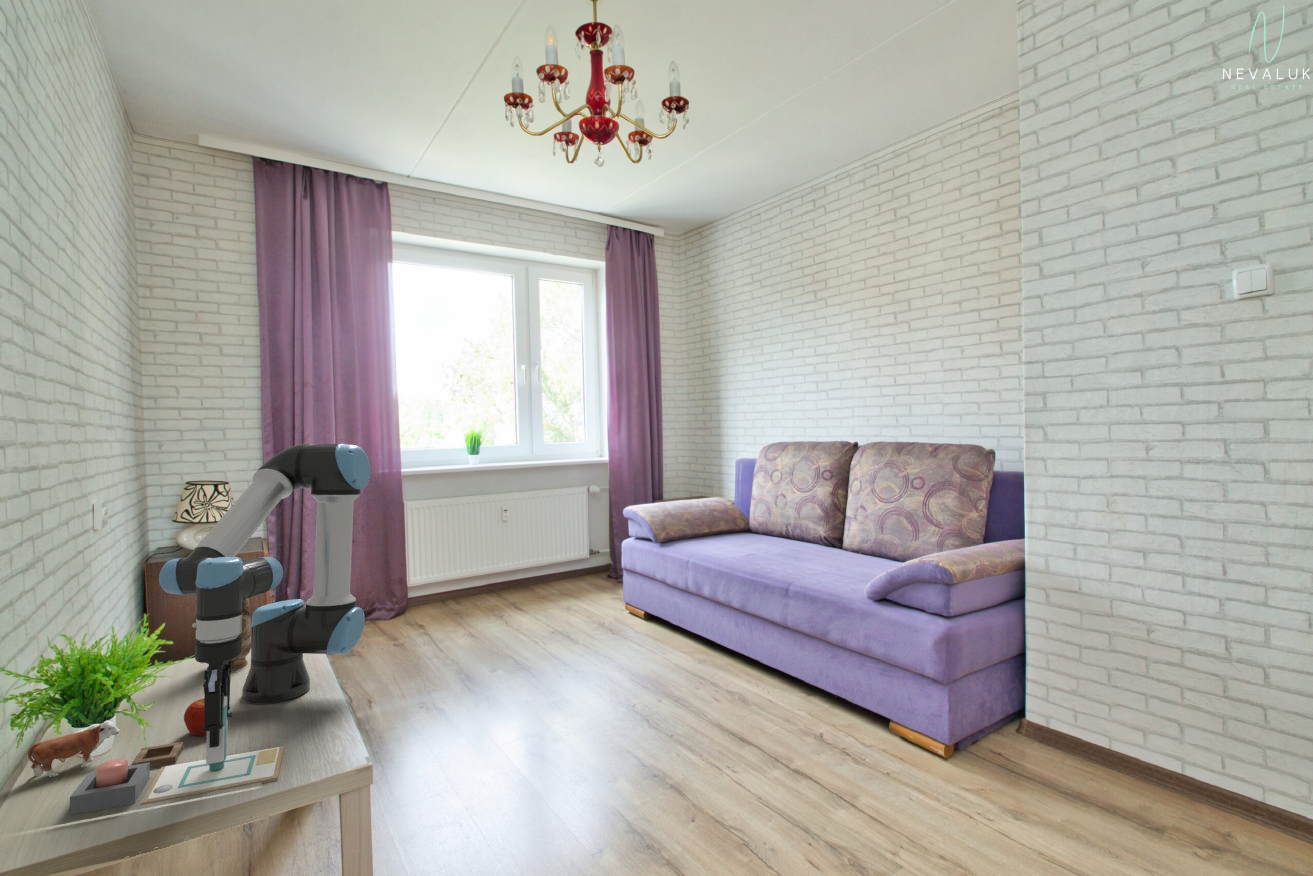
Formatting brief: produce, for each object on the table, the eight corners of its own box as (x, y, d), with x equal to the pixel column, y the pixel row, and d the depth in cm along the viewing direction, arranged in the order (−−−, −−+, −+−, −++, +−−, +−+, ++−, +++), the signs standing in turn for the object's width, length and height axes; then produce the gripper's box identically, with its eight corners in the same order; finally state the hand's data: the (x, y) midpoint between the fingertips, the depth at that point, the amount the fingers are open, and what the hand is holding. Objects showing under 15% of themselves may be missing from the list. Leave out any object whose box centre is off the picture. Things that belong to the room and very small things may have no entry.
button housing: (88, 791, 118) (89, 772, 118) (149, 780, 122) (149, 762, 122) (69, 817, 110) (70, 796, 110) (135, 805, 113) (135, 785, 113)
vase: (238, 657, 191) (240, 558, 191) (260, 663, 186) (261, 561, 186) (200, 668, 182) (202, 563, 182) (221, 675, 177) (223, 567, 177)
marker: (227, 762, 127) (228, 694, 127) (224, 770, 124) (225, 700, 124) (208, 766, 125) (210, 697, 125) (205, 773, 123) (206, 703, 123)
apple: (189, 745, 136) (190, 708, 136) (178, 734, 141) (179, 699, 141) (231, 732, 142) (232, 697, 142) (219, 722, 147) (219, 688, 147)
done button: (100, 778, 117) (101, 762, 117) (130, 773, 118) (131, 757, 119) (91, 790, 113) (92, 773, 113) (123, 784, 115) (123, 768, 115)
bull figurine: (120, 760, 129) (121, 720, 129) (27, 786, 119) (28, 743, 119) (116, 753, 132) (117, 714, 132) (25, 778, 122) (26, 735, 122)
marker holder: (141, 757, 131) (141, 748, 131) (183, 750, 134) (183, 741, 134) (131, 773, 124) (131, 763, 124) (175, 765, 127) (175, 756, 127)
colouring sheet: (161, 769, 126) (161, 765, 126) (284, 748, 135) (284, 744, 135) (140, 806, 113) (140, 801, 113) (277, 780, 122) (277, 775, 122)
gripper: (204, 629, 130) (202, 743, 130) (185, 652, 116) (183, 781, 116) (247, 624, 134) (245, 736, 133) (234, 647, 119) (232, 772, 119)
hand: (216, 757), depth 125 cm, fingers closed on marker, 3 cm apart
